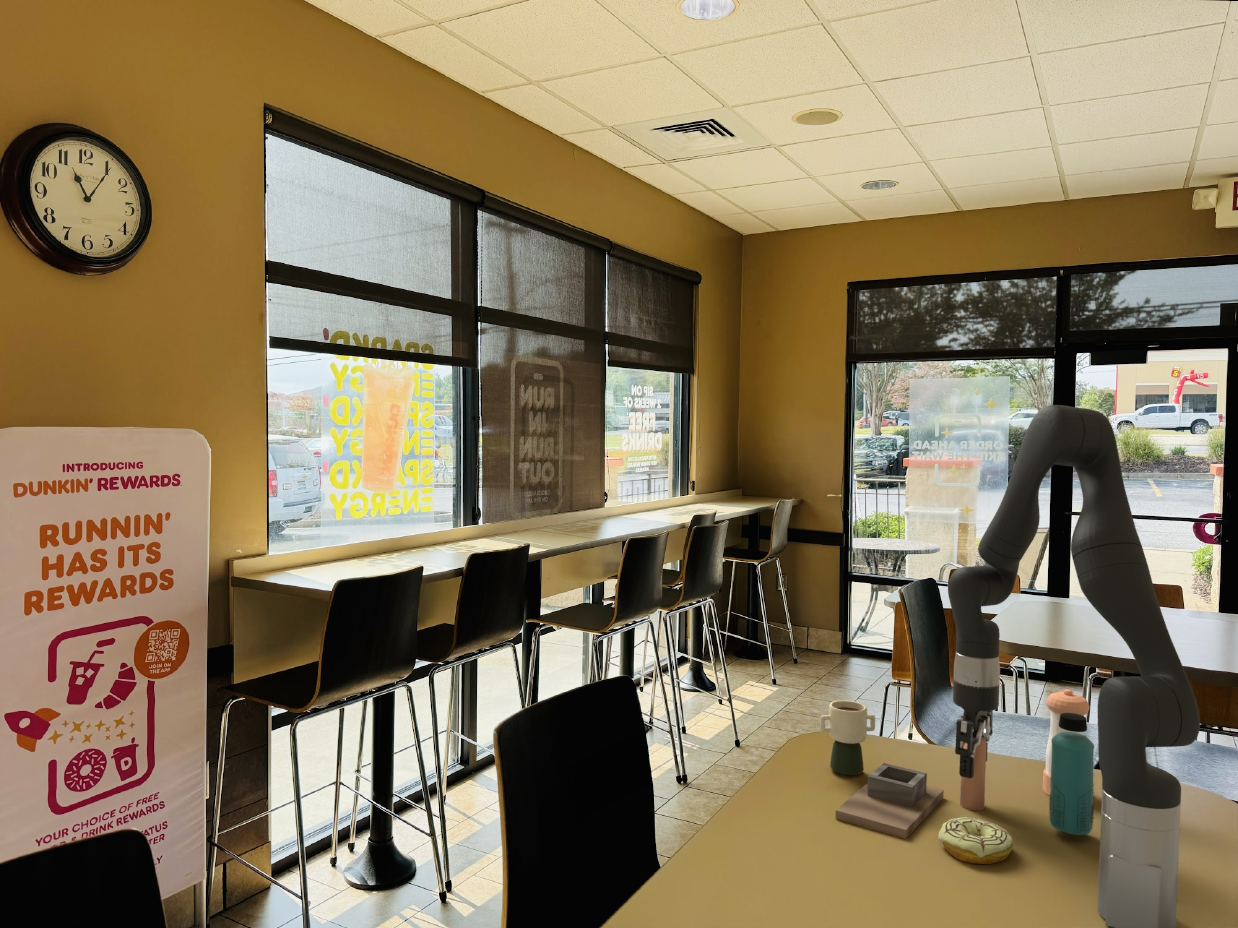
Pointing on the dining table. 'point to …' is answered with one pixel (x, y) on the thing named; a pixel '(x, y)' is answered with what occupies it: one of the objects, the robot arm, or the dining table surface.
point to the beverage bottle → (1072, 777)
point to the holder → (891, 801)
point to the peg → (975, 781)
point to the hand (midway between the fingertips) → (973, 769)
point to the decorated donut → (975, 840)
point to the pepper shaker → (1058, 705)
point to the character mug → (847, 734)
